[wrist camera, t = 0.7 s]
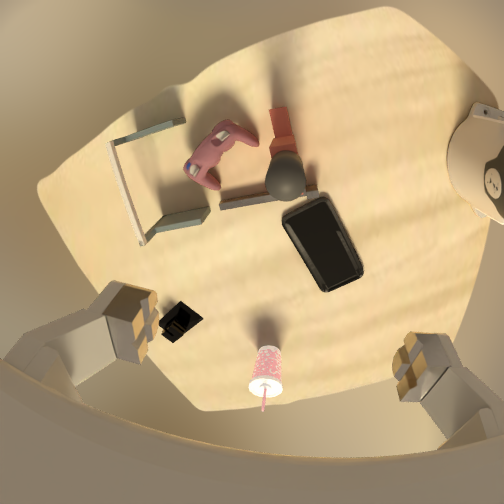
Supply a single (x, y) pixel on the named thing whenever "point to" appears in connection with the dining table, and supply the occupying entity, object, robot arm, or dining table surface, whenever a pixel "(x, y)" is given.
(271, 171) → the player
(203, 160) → the video game controller
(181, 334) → the black piece
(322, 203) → the phone
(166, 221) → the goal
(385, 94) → the dining table surface
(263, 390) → the beverage cup
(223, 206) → the rail
